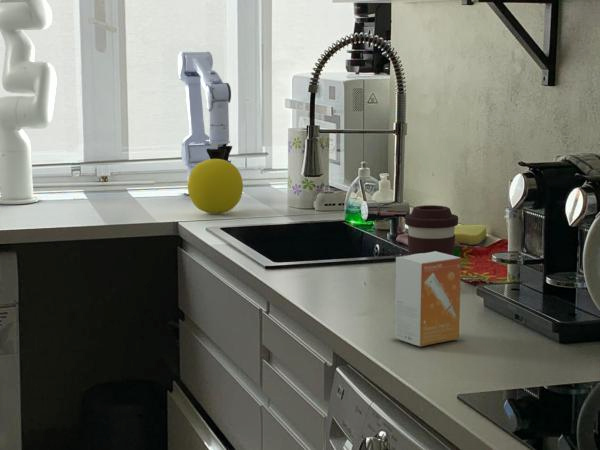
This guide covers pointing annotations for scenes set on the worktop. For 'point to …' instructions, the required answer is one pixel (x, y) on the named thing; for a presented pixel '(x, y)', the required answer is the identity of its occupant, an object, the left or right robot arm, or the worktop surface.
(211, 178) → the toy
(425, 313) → the small box
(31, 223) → the worktop surface
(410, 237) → the coffee cup
